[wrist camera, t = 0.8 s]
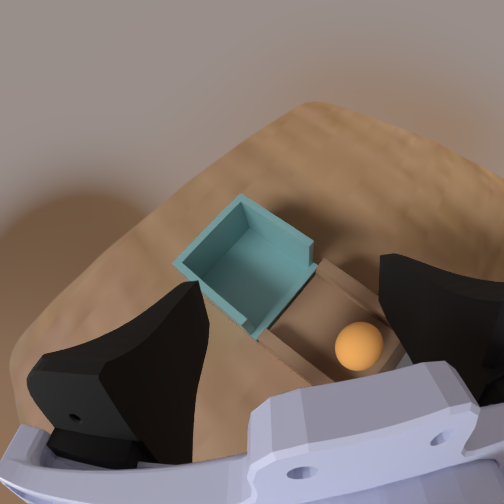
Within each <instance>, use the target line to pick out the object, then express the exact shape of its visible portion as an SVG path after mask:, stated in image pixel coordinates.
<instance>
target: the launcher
mask: <svg viewBox="0 0 504 504" xmlns="http://www.w3.org/2000/svg"><path fill="white" fill-rule="evenodd" d="M378 297H379V296H378V295H376V294H375V293H374V292H372V291H371V290H369V289H368V288H366V287H365V286H364V285H362V284H361V283H359V282H358V281H357V280H355V279H354V278H352V277H351V276H350V275H348V274H347V273H345V272H344V271H342V270H341V269H340V268H338V267H337V266H335V265H334V264H332V263H331V262H329V261H328V260H327V259H325V258H323V260H322V261H321V262H320V263H319V265H318V266H317V267H316V275H315V276H314V277H313V278H312V280H311V281H310V282H309V283H308V285H307V286H306V287H305V288H304V289H303V291H302V292H301V293H300V294H299V296H298V297H297V298H296V299H295V300H294V302H293V303H292V304H291V305H290V306H289V308H288V309H287V310H286V311H285V312H284V313H283V315H282V316H281V317H280V318H279V319H278V320H277V322H276V323H275V324H274V325H273V326H272V327H271V329H270V330H268V329H266V328H265V329H264V330H263V331H262V333H261V334H260V335H259V336H258V337H257V339H258V341H259V342H260V343H261V344H262V345H263V346H264V347H265V348H266V349H268V350H269V351H270V352H271V353H272V354H274V355H275V356H276V357H277V358H279V359H280V360H281V361H282V362H284V363H285V364H286V365H287V366H289V367H290V368H291V369H292V370H294V371H295V372H296V373H297V374H299V375H300V376H301V377H302V378H304V379H305V380H306V381H308V382H309V383H310V384H311V385H313V386H317V385H323V384H329V383H335V382H340V381H346V380H351V379H356V378H361V377H365V376H370V375H375V374H378V373H379V372H380V371H381V369H382V368H383V366H384V365H385V363H386V362H387V361H388V359H389V358H390V356H391V355H392V353H393V352H394V350H395V349H396V347H397V346H398V344H399V343H400V341H399V339H398V337H397V336H396V334H395V333H394V331H393V329H392V328H391V326H390V324H389V323H388V321H387V319H386V317H385V315H384V313H383V310H382V308H381V305H380V303H379V300H378ZM355 322H366V323H369V324H371V325H373V326H375V327H376V328H377V329H378V330H379V332H380V333H381V335H382V338H383V343H384V348H383V352H382V355H381V357H380V359H379V360H378V362H377V363H376V364H375V365H373V366H372V367H370V368H369V369H366V370H362V371H354V370H350V369H348V368H346V367H344V366H343V365H342V364H341V363H340V362H339V360H338V358H337V356H336V353H335V343H336V339H337V337H338V335H339V333H340V332H341V331H342V330H343V329H344V328H345V327H346V326H348V325H350V324H352V323H355Z"/></svg>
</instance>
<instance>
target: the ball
mask: <svg viewBox="0 0 504 504" xmlns="http://www.w3.org/2000/svg"><path fill="white" fill-rule="evenodd" d="M383 348H384V343H383V338H382V335H381V333H380V332H379V330H378V329H377V328H376V327H375V326H373V325H371V324H369V323H366V322H355V323H352V324H350V325H348V326H346V327H345V328H344V329H343V330H342V331H341V332H340V333H339V335H338V337H337V339H336V343H335V353H336V356H337V358H338V360H339V362H340V363H341V364H342V365H343V366H344V367H346V368H348V369H350V370H354V371H362V370H366V369H369V368H370V367H372V366H373V365H375V364H376V363H377V362H378V360H379V359H380V357H381V355H382V352H383Z"/></svg>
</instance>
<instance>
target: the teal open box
mask: <svg viewBox="0 0 504 504" xmlns="http://www.w3.org/2000/svg"><path fill="white" fill-rule="evenodd" d="M313 251H314V241H313V240H312V239H310V238H309V237H307V236H306V235H304V234H303V233H301V232H300V231H298V230H297V229H295V228H294V227H292V226H291V225H289V224H288V223H286V222H285V221H283V220H282V219H280V218H278V217H277V216H275V215H274V214H272V213H271V212H269V211H268V210H266V209H264V208H263V207H261V206H260V205H258V204H257V203H255V202H253V201H252V200H250V199H249V198H247V197H246V196H244V195H242V194H241V193H240V194H239V195H238V196H237V197H236V198H235V199H234V200H233V201H232V202H231V203H230V204H229V205H228V206H227V207H226V208H225V209H224V210H223V211H222V212H221V213H220V214H219V215H218V216H217V217H216V218H215V219H214V220H213V221H212V222H211V223H210V224H209V225H208V226H207V227H206V229H205V230H204V231H203V232H202V233H201V234H200V235H199V236H198V237H197V238H196V239H195V240H194V241H193V242H192V243H191V244H190V245H189V246H188V247H187V248H186V249H185V250H184V251H183V252H182V253H181V254H180V256H179V257H178V258H177V259H176V260H175V261H174V262H173V263H172V264H173V265H174V266H175V268H176V269H177V270H178V271H179V272H180V273H181V274H182V275H183V276H184V277H185V278H186V279H187V280H188V281H197V280H199V284H200V288H201V292H202V294H203V295H204V296H205V297H206V298H207V299H208V300H209V301H210V302H212V303H213V304H214V305H215V306H216V307H217V308H218V309H219V310H221V311H222V312H223V313H224V314H225V315H226V316H227V317H229V318H230V319H231V320H232V321H233V322H234V323H236V324H237V325H238V326H239V327H240V328H241V329H243V330H244V331H245V332H246V333H247V334H249V335H250V336H251V337H252V338H253V339H255V340H256V341H257V342H259V341H258V339H257V337H258V336H259V335H260V334H261V333H262V331H263V330H264V329H265V328H266V329H268V330H269V329H270V328H271V327H272V326H273V325H274V323H275V322H276V321H277V320H278V319H279V318H280V316H281V315H282V314H283V313H284V312H285V311H286V309H287V308H288V307H289V306H290V305H291V303H292V302H293V301H294V300H295V299H296V297H297V296H298V295H299V294H300V293H301V291H302V290H303V289H304V288H305V286H306V285H307V284H308V283H309V282H310V280H311V279H312V278H313V277H314V275H315V274H316V267H317V266H318V265H317V264H315V263H314V262H313Z"/></svg>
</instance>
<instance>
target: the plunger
mask: <svg viewBox="0 0 504 504" xmlns="http://www.w3.org/2000/svg"><path fill="white" fill-rule="evenodd" d="M411 365H413V363H412V362H411V360H410V358H409V356H408V354H407V352H406V351H405V349H404V347H403V346H402V344H401V342H400V343H399V344H398V346H397V347H396V349H395V350H394V352H393V353H392V355H391V356H390V358H389V359H388V361H387V362H386V363H385V365H384V366H383V368H382V369H381V371H380V372H379V373H383V372H387V371H391V370H395V369H399V368H403V367H407V366H411ZM379 373H378V374H379Z"/></svg>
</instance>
